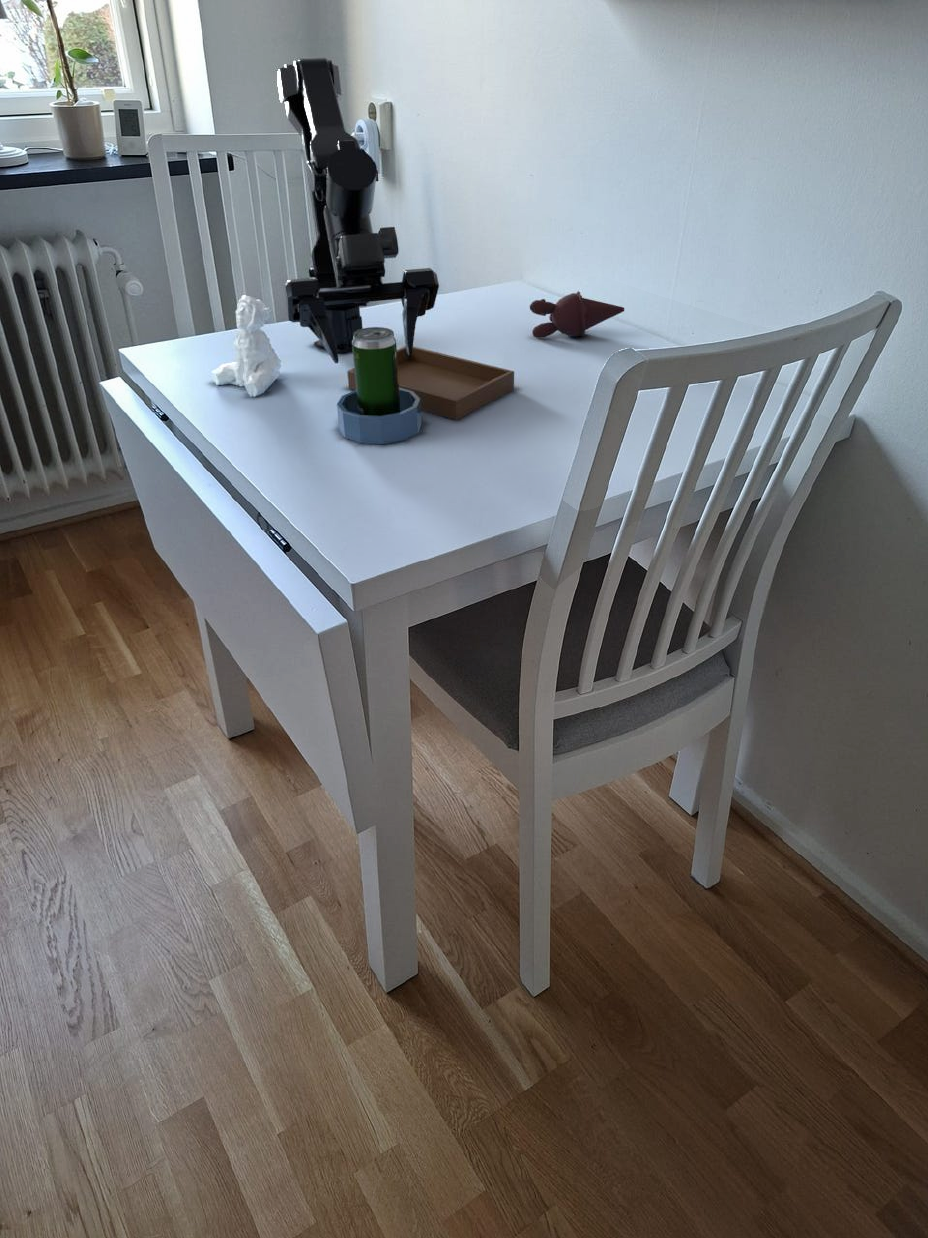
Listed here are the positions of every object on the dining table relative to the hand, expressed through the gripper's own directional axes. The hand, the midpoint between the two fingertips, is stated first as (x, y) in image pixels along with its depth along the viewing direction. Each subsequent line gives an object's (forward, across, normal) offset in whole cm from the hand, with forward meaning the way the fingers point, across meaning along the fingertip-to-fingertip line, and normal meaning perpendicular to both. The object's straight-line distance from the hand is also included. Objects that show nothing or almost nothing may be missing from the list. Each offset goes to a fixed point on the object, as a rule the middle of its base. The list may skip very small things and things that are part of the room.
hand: (373, 357), depth 107 cm
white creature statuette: (-8, -14, +20) cm, 26 cm away
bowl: (+7, 0, +5) cm, 9 cm away
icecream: (-12, +37, +24) cm, 46 cm away
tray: (-1, +9, +13) cm, 16 cm away
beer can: (+7, 0, +6) cm, 9 cm away
